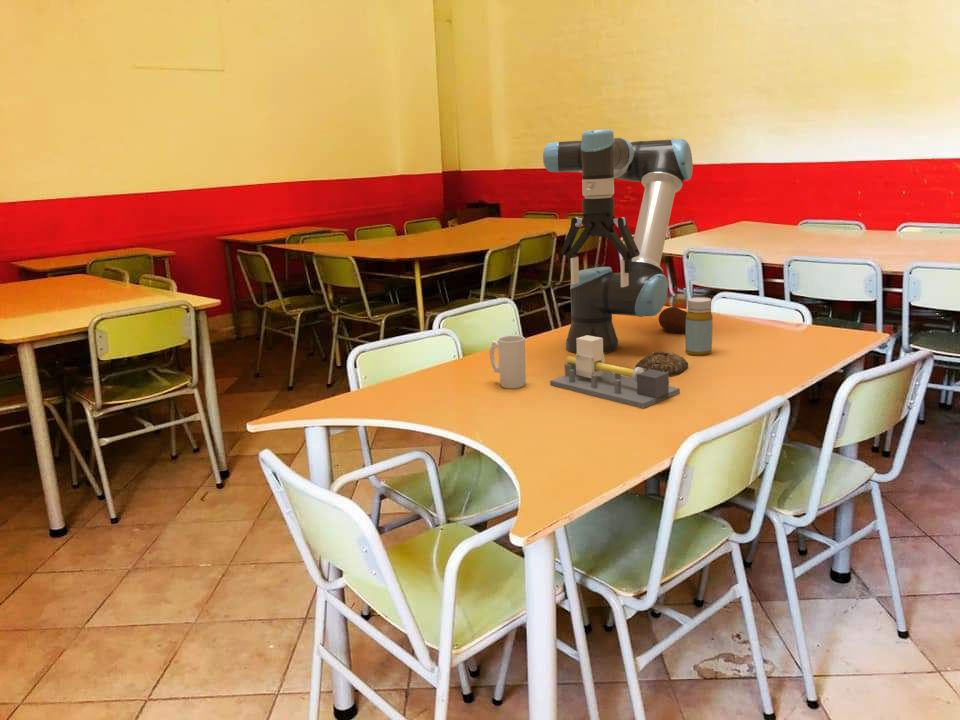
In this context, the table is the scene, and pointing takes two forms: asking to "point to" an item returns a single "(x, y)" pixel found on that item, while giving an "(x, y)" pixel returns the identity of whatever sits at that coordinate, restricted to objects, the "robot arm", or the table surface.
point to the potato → (673, 319)
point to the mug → (510, 361)
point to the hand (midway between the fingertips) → (599, 284)
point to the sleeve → (589, 355)
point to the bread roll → (663, 362)
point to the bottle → (699, 326)
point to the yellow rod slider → (619, 384)
